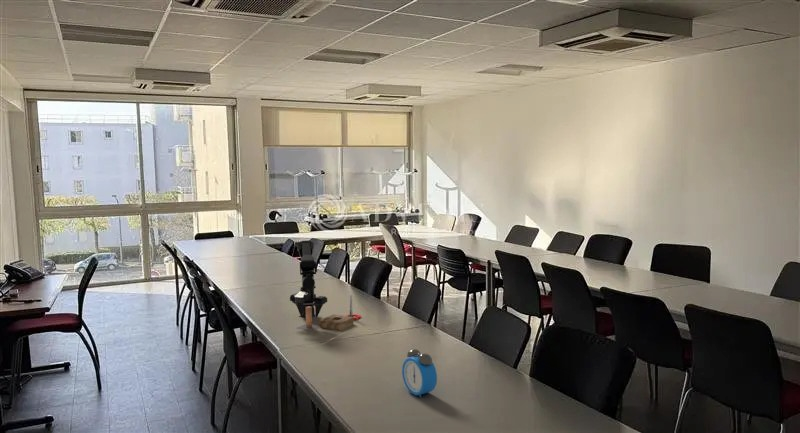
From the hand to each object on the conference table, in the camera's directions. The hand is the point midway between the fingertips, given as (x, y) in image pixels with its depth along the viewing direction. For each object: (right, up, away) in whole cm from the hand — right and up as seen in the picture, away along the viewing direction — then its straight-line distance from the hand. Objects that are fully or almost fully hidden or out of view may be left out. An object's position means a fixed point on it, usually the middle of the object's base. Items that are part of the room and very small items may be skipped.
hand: (308, 315), depth 282 cm
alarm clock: (+52, -14, -80) cm, 96 cm away
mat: (0, -6, +1) cm, 6 cm away
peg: (0, -6, 0) cm, 6 cm away
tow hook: (+20, -5, +18) cm, 28 cm away
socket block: (+13, -6, +3) cm, 15 cm away
